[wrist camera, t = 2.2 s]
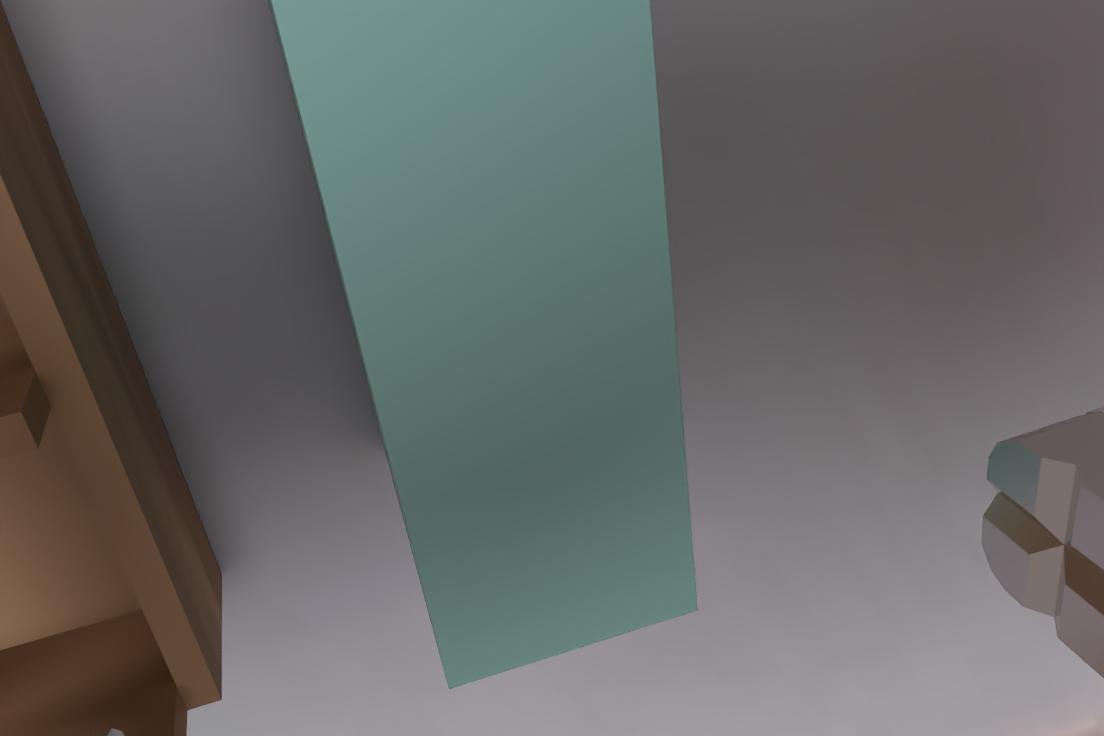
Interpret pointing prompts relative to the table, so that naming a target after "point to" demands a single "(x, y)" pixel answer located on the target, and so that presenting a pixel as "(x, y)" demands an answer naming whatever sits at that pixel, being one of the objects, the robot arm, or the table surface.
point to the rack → (85, 478)
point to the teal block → (508, 305)
